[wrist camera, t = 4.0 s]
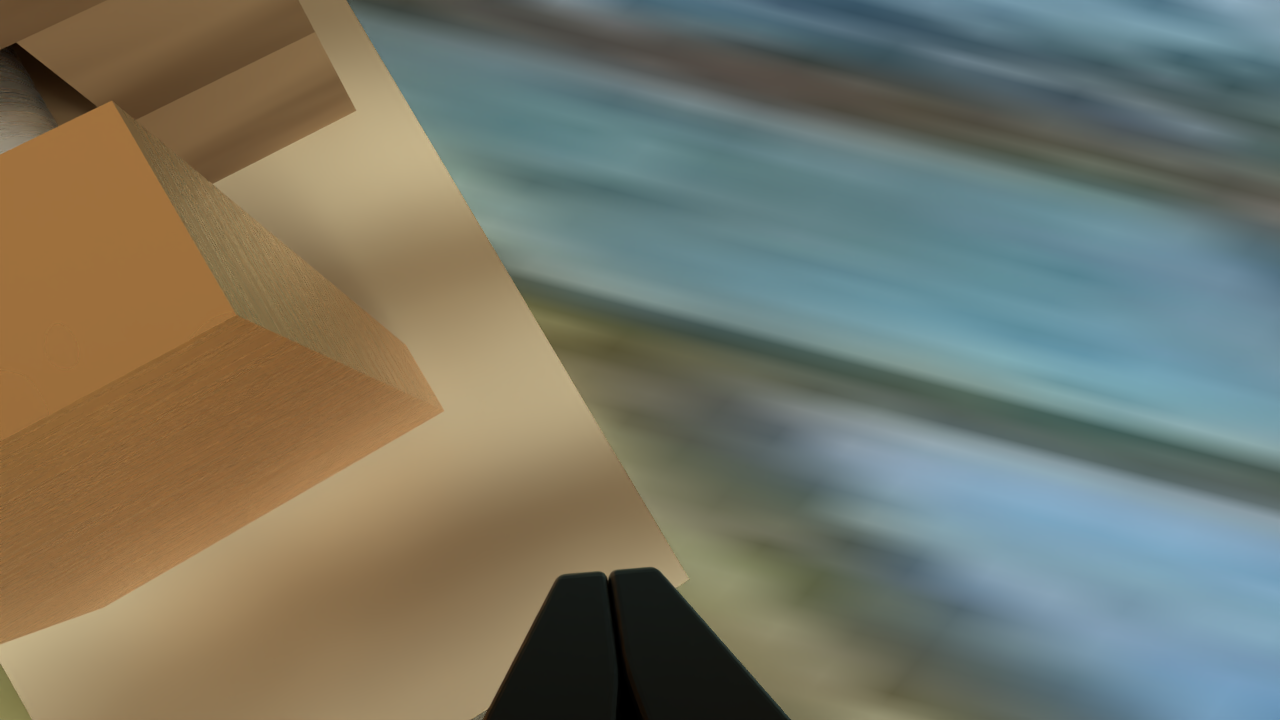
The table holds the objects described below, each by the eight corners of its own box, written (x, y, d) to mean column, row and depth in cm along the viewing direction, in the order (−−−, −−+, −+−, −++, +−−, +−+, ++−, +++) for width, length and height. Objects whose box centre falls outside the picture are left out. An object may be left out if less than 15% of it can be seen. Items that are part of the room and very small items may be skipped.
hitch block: (682, 573, 19) (834, 699, 9) (170, 899, 17) (-308, 1483, 8) (272, -119, 20) (9, -686, 10) (-266, 126, 18) (-1244, -272, 8)
